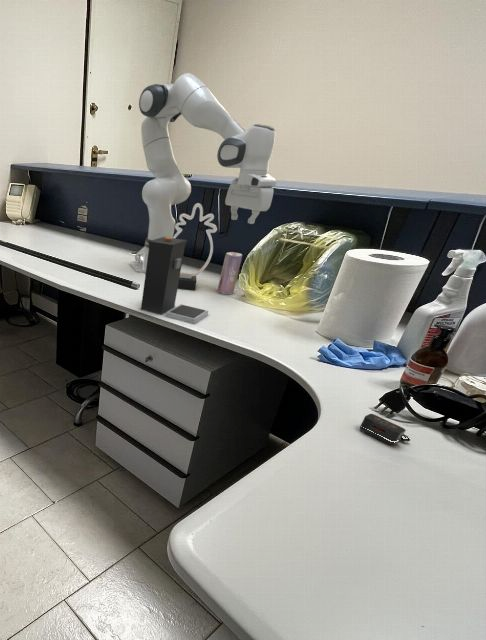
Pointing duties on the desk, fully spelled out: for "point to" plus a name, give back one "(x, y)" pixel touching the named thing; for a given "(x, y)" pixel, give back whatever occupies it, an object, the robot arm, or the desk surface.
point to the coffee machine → (166, 280)
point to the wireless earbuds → (383, 429)
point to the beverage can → (229, 272)
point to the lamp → (190, 279)
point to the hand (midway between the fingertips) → (242, 221)
